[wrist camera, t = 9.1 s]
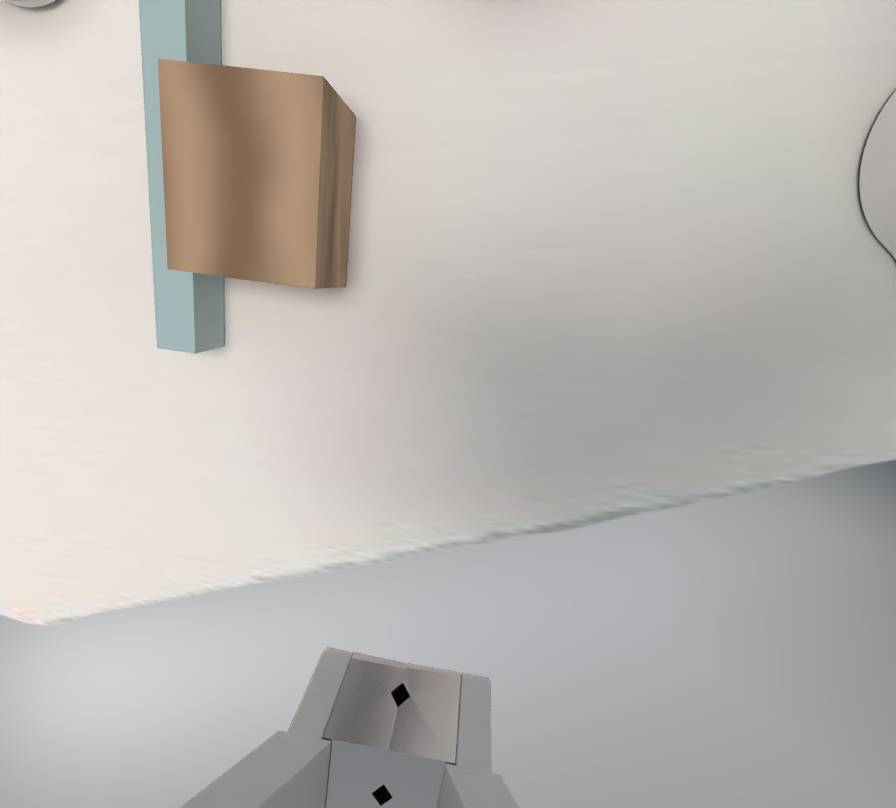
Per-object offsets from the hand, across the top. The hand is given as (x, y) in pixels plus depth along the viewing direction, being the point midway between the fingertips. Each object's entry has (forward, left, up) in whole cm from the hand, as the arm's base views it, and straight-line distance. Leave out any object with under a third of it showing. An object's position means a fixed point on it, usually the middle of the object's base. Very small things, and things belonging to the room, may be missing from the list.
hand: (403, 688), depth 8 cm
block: (+16, -11, -30) cm, 36 cm away
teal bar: (+22, -12, -30) cm, 39 cm away
